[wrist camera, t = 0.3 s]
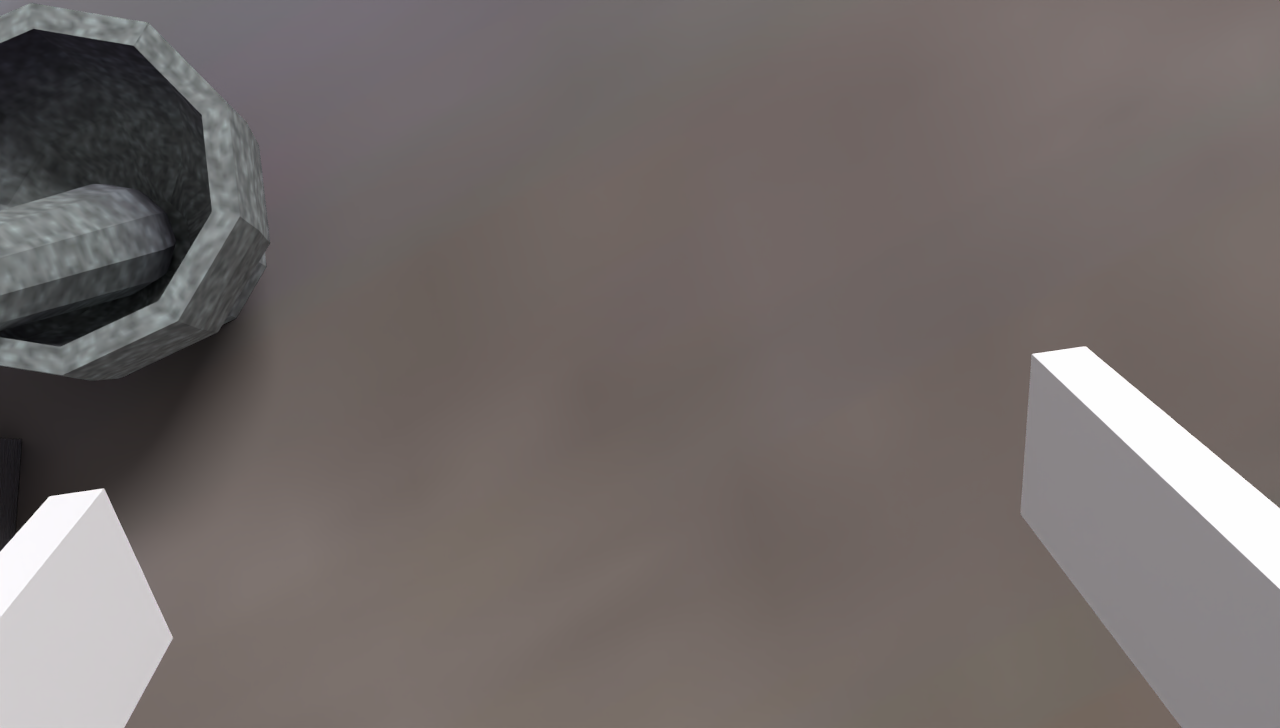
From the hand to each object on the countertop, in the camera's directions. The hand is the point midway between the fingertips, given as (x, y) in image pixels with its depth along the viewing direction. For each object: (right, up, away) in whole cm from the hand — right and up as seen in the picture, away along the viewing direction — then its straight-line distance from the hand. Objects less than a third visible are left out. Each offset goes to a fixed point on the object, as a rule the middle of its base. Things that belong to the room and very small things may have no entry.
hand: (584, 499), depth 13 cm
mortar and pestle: (-15, +5, +17) cm, 23 cm away
